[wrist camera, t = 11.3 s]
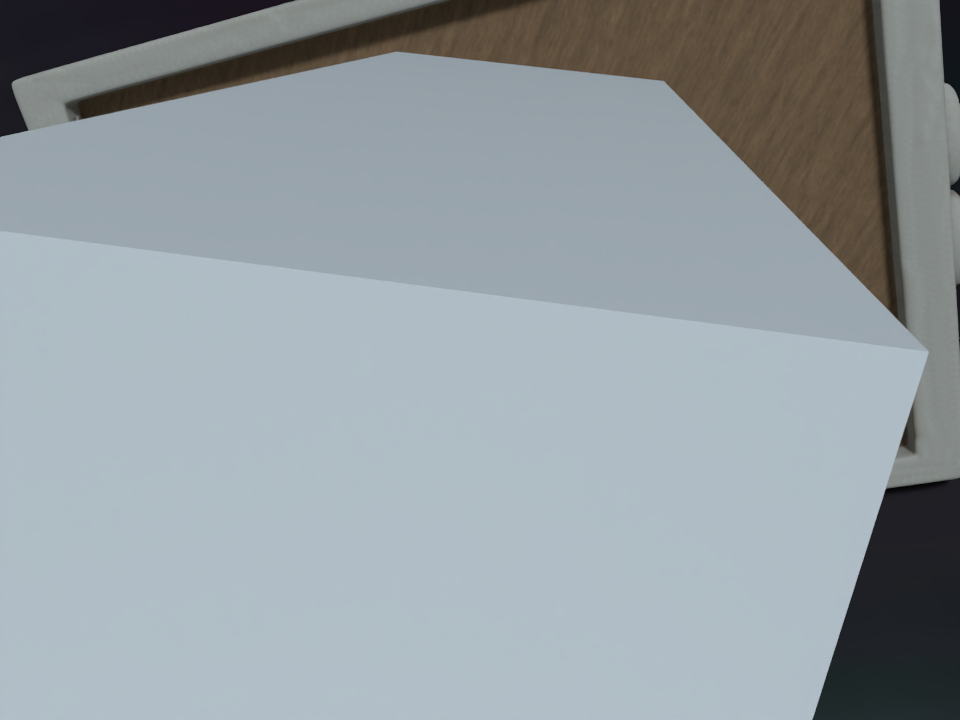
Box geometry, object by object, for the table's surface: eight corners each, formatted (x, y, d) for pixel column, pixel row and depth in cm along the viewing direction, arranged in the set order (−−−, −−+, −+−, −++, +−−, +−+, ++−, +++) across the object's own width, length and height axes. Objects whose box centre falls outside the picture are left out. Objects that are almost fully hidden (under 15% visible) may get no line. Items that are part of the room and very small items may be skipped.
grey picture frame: (4, 80, 27) (1046, -213, 21) (35, 77, 29) (1017, -198, 23) (210, 584, 34) (1058, 467, 28) (227, 559, 35) (1035, 444, 29)
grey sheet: (663, 81, 13) (927, 353, 3) (544, 780, 18) (484, 1752, 8) (396, 51, 13) (-272, 196, 3) (357, 747, 18) (71, 1645, 8)
